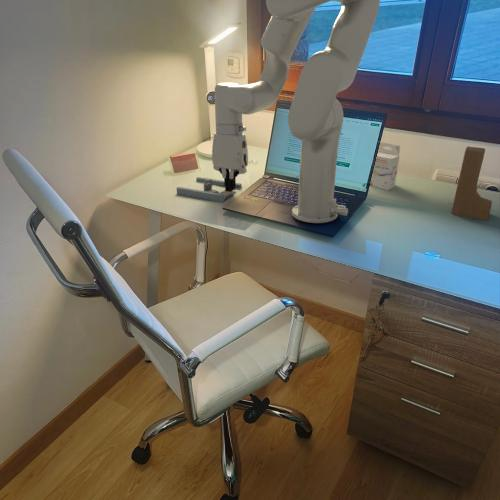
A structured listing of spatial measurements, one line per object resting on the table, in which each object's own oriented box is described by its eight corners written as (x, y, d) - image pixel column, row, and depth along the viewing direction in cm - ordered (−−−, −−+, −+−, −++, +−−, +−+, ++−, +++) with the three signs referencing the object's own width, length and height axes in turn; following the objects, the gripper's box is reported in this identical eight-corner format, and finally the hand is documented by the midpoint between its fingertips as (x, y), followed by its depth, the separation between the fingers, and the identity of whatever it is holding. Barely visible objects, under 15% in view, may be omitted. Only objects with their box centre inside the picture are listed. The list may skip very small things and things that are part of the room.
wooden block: (488, 215, 120) (505, 150, 112) (487, 221, 116) (505, 154, 108) (452, 210, 124) (466, 146, 116) (450, 215, 120) (465, 149, 112)
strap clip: (220, 195, 136) (220, 181, 134) (212, 197, 134) (212, 183, 132) (204, 188, 141) (203, 175, 140) (196, 190, 140) (195, 177, 138)
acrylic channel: (241, 189, 139) (241, 183, 138) (222, 202, 129) (222, 195, 128) (198, 182, 146) (198, 176, 145) (176, 194, 136) (176, 187, 135)
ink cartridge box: (361, 190, 139) (367, 143, 132) (369, 186, 142) (375, 140, 136) (386, 196, 134) (393, 148, 127) (394, 192, 137) (401, 145, 130)
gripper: (258, 129, 126) (257, 190, 134) (213, 124, 131) (215, 183, 140) (246, 134, 120) (246, 198, 128) (199, 128, 125) (202, 190, 134)
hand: (230, 190), depth 134 cm, fingers closed
